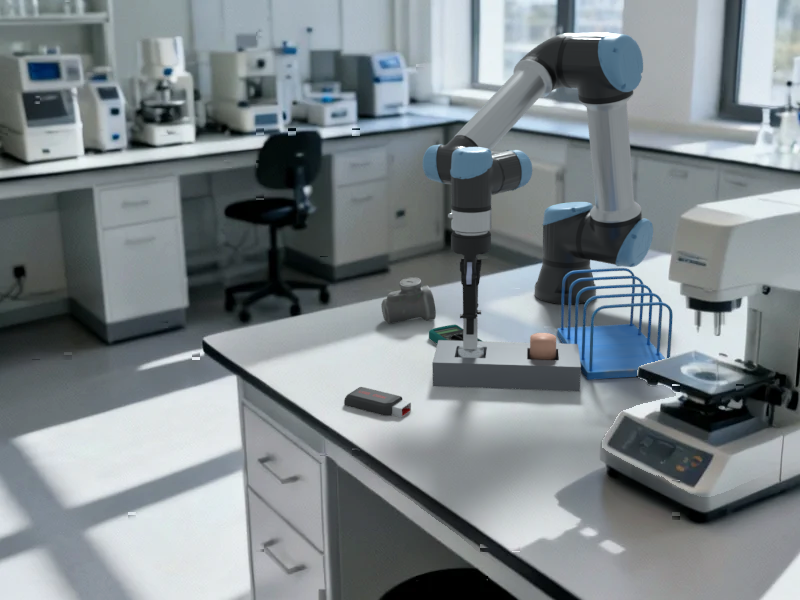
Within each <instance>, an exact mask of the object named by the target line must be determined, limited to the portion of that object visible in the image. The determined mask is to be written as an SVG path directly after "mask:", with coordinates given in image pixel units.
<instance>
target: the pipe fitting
mask: <svg viewBox="0 0 800 600" xmlns="http://www.w3.org/2000/svg"><path fill="white" fill-rule="evenodd" d="M399 288H400V289H399V290H396V291H395V290H394V291H390V292H389V293H388V294H387V297H386V298H384V299H383V300H382V302H381V312H382V318H383V319H384V322H385V323H387V324H388V325H391V324H396V323H400V322H405V321H409V320H415V319H419V318H420V319H422V320H424V321H433V320H436V318H437V316H436V315H437V310H436V304H435V299H434V294H433V292H432V289H431V287H430V286H429V285H423V286H422V280H421V278H419V277H412V276H411V277H406V278H403V279H401V280H400V281H399Z"/></svg>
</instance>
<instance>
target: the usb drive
mask: <svg viewBox="0 0 800 600" xmlns="http://www.w3.org/2000/svg"><path fill="white" fill-rule="evenodd" d="M343 404H344V405H343V406H345V407H349V408H353V409H356V410H360V411H365V412H367V413H373V414H377V415H379V416H385V417H386V416H391V417H392V416H395V417H398V418H403V417H404V416H406V415H407V414H409V413H411V411H412V402H411V401H407V400H403V397H402V396H401V395H397V394H393V393H389V392H384V391H380V390H377V389H374V388H373V389H372V388H367V387H364V386H360V387H357V388H356V389H354V390H353V391H351V392H349V393H347V395H345V398H344V400H343Z"/></svg>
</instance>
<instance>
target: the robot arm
mask: <svg viewBox="0 0 800 600" xmlns="http://www.w3.org/2000/svg"><path fill="white" fill-rule="evenodd" d="M643 72H644V58H643V54H642V50H641V48H640V45H639V44H638V42H637V41H636V40H635V39H634V38H633V37H632V36H631V35H628V34H625V33H624V34H623V33H615V32H610V31H609V32H565V33H561V34H557V35H555V36H552V37H550V38H548V39H546V40H545V41H543V42H542V43H540V44H538V45H537V46H535V47H534V48H533V49H531V50H530V51H529V52H528V53H526V54H525V55H524V56H523V57H522V58H521V59H520V60H519V61H518V62H517V63H516V64H515V66H514V68H513V74H512V75H511V76H510V77H509V78H508V79H507V80H506V81H505V83H503V84H502V86H501V87H500V88H499V89H498V90H497V91H496V92H495V93H494V94H493V95H492V96H491V97H490V98H489V99H488V100H487V101H486V102H485V104H484V105H483V106H481V108H480V109H478V111H477V112H476V113H475V114H474V115H473V116H472V117H471V118H470V119H469V120H468V122H467V123H465V124H464V126H463V127H461V129H459V131H458V132H457V133H456V134H455V135H454V136H453V138H451V139H450V140H449V141H448V142H447V143H446V144H443V143H441V144H433V145H431V146H429V147H427V149H426V151H425V152H424V155H423V157H422V170H423V172H424V175H425V177H427V179H428V180H430V181H433V182H437V183H440V184H444V185H450V186H451V187H450V188H451V191H450V192H451V204H450V208H451V211H450V212H451V213H450V212H449V213H448V214H447V218H448V219H451V221H450V222H451V224H450V225H451V226H450V227H451V229H452V232H451V234H450V249H451V251H452V252H453V253H454V254H457V255H462V256H463V258H460V262H459V271H460V272H461V273H460V282H461V283H460V284H461V285H462V313H460V314H459V319H462V322H463V324H462V325H463V328H462V329H463V349H477V343H478V339H479V337H478V336H479V335H478V333H479V332H478V329H479V327H478V325H479V323H478V321H479V320H478V317H479V315H482V310H481V309H478V307H479V303H478V302H479V285H480V280H481V270H482V258H479V257H478V256H479V255H484V254H485V255H486V254H488V253H489V252H490V251H491V249H492V234H491V232H490V230H491V229H492V218H493V217H492V215H493V214H492V213H493V212H492V211H493V210H492V196H494V195H498V194H502V193H505V192H510V191H512V192H513V191H516V190H518V189H520V188H521V187H524V186H526V185H527V184H528V183H529V182H530V180H531V178H532V175H533V164H532V160H531V159H530V157H529V155H527V154H526V153H525V152H524V151H523V150H519V149H513V150H511V149H507V150H505V151H496V150H494V151H493V149H494V148H495V147H496V145H498V144H499V142H500V141H501V140H503V138H504V137H505V136H506V135H507V133H509V131H510V130H511V129H512V128H513V127H514V126H515V125H516V124H517V123H518V122H519V120H520V119H521V118H523V116H524V115H525V114H526V113H527V112H528V111H529V110H530V108H532V106H533V105H534V104H535V103H536V102H537V101H538V99H543V98H546V97H548V96H549V95H550V93H551V92H552V91H555V90H557V89H563V88H564V89H565V88H569V89H577V95H578V102H579V103H581V105H583V106H584V107H585V108H586V114H587V115H586V116H587V125H588V136H589V148H590V158H591V159H590V160H591V169H592V179H593V190H594V191H593V192H594V201H595V205H593V203H592V202H591V203H590V202H589V201H588V202H587V201H571V202H564V203H557V204H553V205H550V206H548V207H547V208H545V209H544V212H543V221H542V264H541V268H540V271H539V275H538V277H537V281H535V284H534V292H533V293H534V297H536V298H537V299H539V300H540V301H543V302H547V303H550V304H561V301H562V281H563V278H564V277H565V275H566V274H567V273H569V272H571V271H576V270H591V261H593V262H600V263H602V264H603V263H605V264H608V265H614V266H616V267H624V268H626V267H627V268H635V267H636V266H638V265H639V264H641V263H642V262H643V261H644V259H645V258H646V257H647V255H648V252H649V250H650V248H651V245H652V243H653V237H654V226H653V223H652V221H651V220H650V219H648V218H646V217H644V218H643V214H642V206H641V205H640V204H639V203H638V202H636V200H634V199H635V197H634V187H633V186H634V183H633V172H632V159H631V158H632V157H631V142H630V131H629V130H630V128H629V114H628V113H629V111H628V101H629V100H631V98H632V97H633V95H634V90H635V89H637V88H638V87H639V85H640V83H641V81H642V78H643V77H642V73H643ZM593 277H594V276H593V272H588V273H574V274H571V275H570V276H568V277H567V279H566V281H565V290H564V305H568V298H569V288H570V286H571V284H572V283H573V282H574V281H575V280H577V279H580V278H593ZM592 286H597V285H596V283H595V280H592V281H580V282H578V283H576V284H575V285H574V286H573V288H572V295H571V305H575V304H576V296H577V294H578V292H579V291H580V290H582V289H583V288H585V287H592ZM593 296H597V289H593V290H586V291H584V292H583V293H582V294H581V295H580V297H579V302H578V305H579V304H585V303H586V301H587V300H588V299H589V298H591V297H593Z"/></svg>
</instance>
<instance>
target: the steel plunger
mask: <svg viewBox="0 0 800 600" xmlns="http://www.w3.org/2000/svg"><path fill="white" fill-rule="evenodd" d="M458 357H464V358H484V348H483V347H482V346H480V345H477V349H463V345H462V346H460V347H459V348H458Z"/></svg>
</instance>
